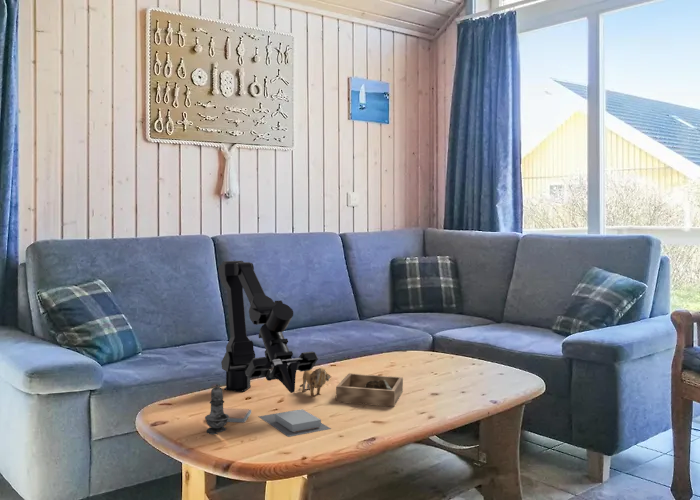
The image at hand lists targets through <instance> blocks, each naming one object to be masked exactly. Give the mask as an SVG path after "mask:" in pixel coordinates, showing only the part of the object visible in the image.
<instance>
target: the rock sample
mask: <svg viewBox="0 0 700 500" xmlns="http://www.w3.org/2000/svg"><path fill="white" fill-rule="evenodd" d="M365 388H372V389H385V390H392V388H391V387H390V386H389V385H388V383H387V382H386V381H385V380H380V381H369V382H367V384H366V386H365Z"/></svg>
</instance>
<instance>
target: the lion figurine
mask: <svg viewBox="0 0 700 500" xmlns="http://www.w3.org/2000/svg"><path fill="white" fill-rule="evenodd" d="M331 376H332V375H331V374H330V373H328V372H327V371H326V368H324V367H319V368H317V369H315V370H312V369H311V370H309V371H303V375H302V383H301V384H300V385H299V387H300V388H302V389H301V393H306V388H307V390H310V397H312V398H313V397H315V393H314V390H315V389H316V395H317V396H321V395H322V394H321V393H320V391H321V388H323V386H324V385H325V384H326V382H329V381H330V378H331ZM306 384H307V385H306Z"/></svg>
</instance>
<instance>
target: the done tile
mask: <svg viewBox="0 0 700 500" xmlns="http://www.w3.org/2000/svg"><path fill="white" fill-rule="evenodd" d="M223 411H224V414H227V415H228V416H229V418H228V421H227V423H246V421H247V420H248V418H249V417H250V416H251V414H252V409H250V408H233V407H232V408H230V407H228V408H227V407H223Z"/></svg>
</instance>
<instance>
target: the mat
mask: <svg viewBox="0 0 700 500" xmlns="http://www.w3.org/2000/svg"><path fill="white" fill-rule="evenodd" d="M295 410H296V409H294V410H293V411H295ZM289 411H290V410H289ZM289 411H287V412H289ZM277 413H278V412H277ZM277 413H271V414H265V415H259V416H258V418H260V419H261V420H262V421H264V422H266V423H267V424H269V425H270V426H272V427H273V428H275V429H277V431H279V432H281V433H282V434H283V435H285V436H286V437H288V438H291V437H296V436H301V435H307V434H310V433H312V434H313V433H317V432H323V431H326V430H327V431H328V430H331V429H332V428H331V427H329V426H328V425H326V424H324V423H322V422H321V427H319V428H314V429H309V430H304V431H298V432H292V431H290V430H289V429H287V428H286V427H284V426H283V425H281V424H279V423H278V422H276V421H275V414H277ZM281 413H283V411H282V412H281Z"/></svg>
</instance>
